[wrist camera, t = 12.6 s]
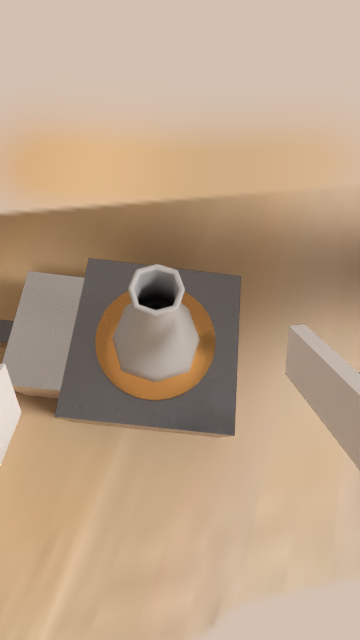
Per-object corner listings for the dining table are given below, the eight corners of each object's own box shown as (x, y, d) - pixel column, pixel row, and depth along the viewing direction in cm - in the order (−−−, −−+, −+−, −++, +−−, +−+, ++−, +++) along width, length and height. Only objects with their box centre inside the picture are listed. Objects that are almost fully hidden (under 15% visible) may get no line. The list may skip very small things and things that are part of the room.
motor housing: (226, 305, 38) (241, 274, 31) (218, 437, 33) (235, 435, 26) (27, 282, 37) (-2, 245, 31) (-10, 413, 33) (-54, 405, 26)
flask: (115, 298, 30) (95, 231, 20) (198, 300, 30) (217, 235, 21) (109, 382, 27) (85, 350, 18) (200, 383, 28) (223, 352, 18)
